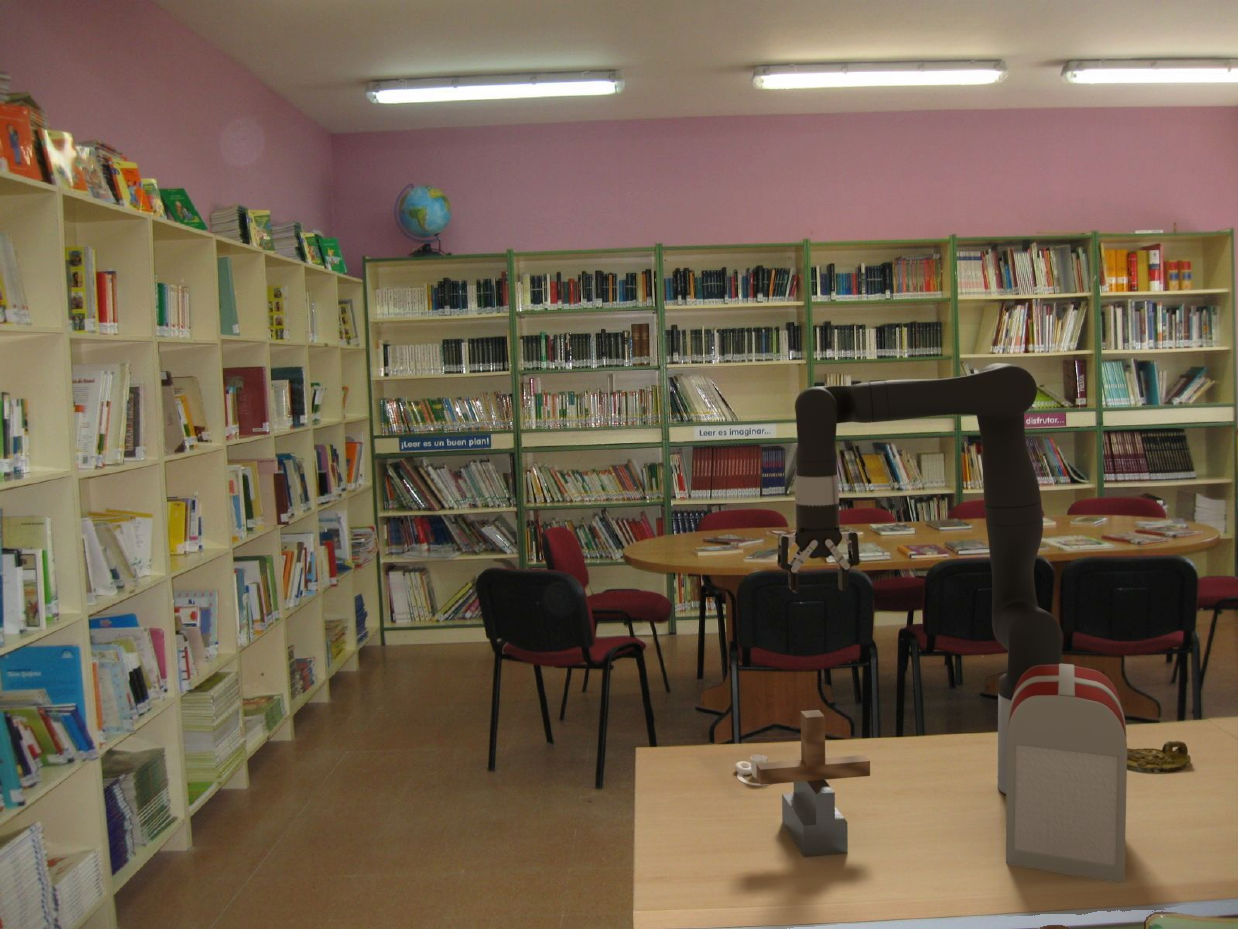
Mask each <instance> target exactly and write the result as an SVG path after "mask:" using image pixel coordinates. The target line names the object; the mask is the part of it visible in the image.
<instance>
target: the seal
mask: <svg viewBox="0 0 1238 929" xmlns="http://www.w3.org/2000/svg"><path fill="white" fill-rule="evenodd" d="M1174 748H1175V749H1174ZM1188 752H1189V750H1188V746H1187V745H1186V743H1185V742H1184V741H1179V740H1175V741H1170V740H1169V741H1166V742H1165V743H1164V744H1163V745H1162V748H1161V749H1159V748H1147V747H1146V748H1145V747H1144V748H1128V747H1127V770H1130V771H1134V770H1136V771H1135V772H1140V771H1142V773H1154V772H1155V773H1157V774H1158V773H1160V774H1163V773H1164V772H1165V773H1173V772H1175V773H1176V772H1179V770H1181V771H1183V770H1186V769H1187V768H1189V767H1190V766H1191V760H1192V759H1191V755H1189V754H1188ZM1162 772H1163V773H1162Z"/></svg>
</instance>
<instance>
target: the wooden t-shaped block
mask: <svg viewBox="0 0 1238 929" xmlns="http://www.w3.org/2000/svg"><path fill="white" fill-rule="evenodd" d="M800 753H801V754H800V756H801V757H800V758H801V759H798V760H797V759H796V760H785V761H783V760H781V761H771V762H767V763H756V772H757V779H756V780H757V782H758V783H760V785H765V786H767V785H766V784H771V785H776V784H788V783H794V782H803V781H815V780H825V781H826V780H838V779H840V780H841V779H850V778H862V777H865V778H866V777H870V776H871V760H870V759H869V758H868V757H867V756H866V755H865V754H862V755H861V754H860V755H849V756H846V755H845V756H838V757H837V756H836V757H835V756H834V757H833V756H832V757H826V716H825V715H824V713H823V712H822V711H821V710H819V709H816V710H815V709H813V710H800Z"/></svg>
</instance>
